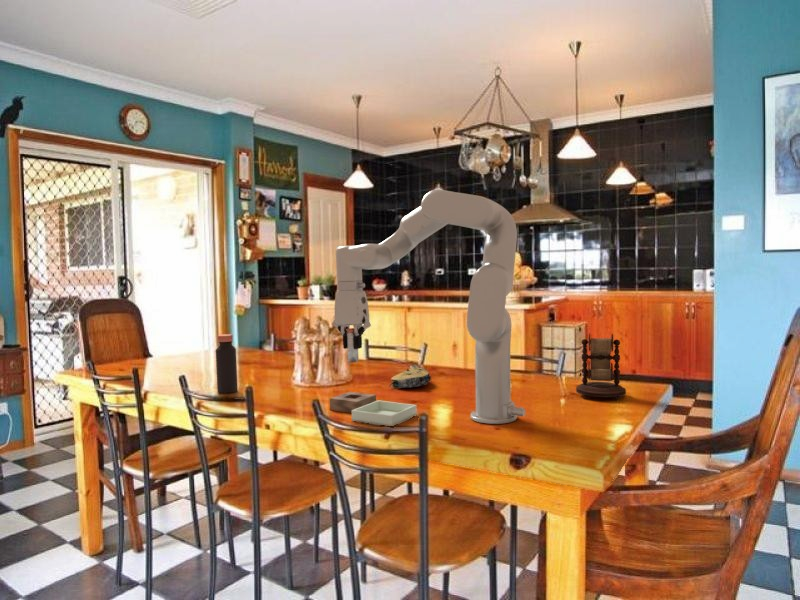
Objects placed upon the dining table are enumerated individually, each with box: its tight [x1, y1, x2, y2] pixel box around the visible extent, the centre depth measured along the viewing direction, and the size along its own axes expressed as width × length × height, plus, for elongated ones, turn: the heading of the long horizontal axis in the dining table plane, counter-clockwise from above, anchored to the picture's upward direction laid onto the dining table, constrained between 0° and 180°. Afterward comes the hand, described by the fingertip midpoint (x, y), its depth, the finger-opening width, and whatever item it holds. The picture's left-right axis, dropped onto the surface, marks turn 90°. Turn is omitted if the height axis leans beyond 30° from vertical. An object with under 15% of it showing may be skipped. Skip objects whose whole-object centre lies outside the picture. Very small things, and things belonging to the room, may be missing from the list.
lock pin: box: [346, 327, 359, 364], centre depth 171 cm, size 3×3×10 cm
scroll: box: [575, 332, 627, 402], centre depth 179 cm, size 15×15×20 cm
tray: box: [351, 399, 418, 427], centre depth 160 cm, size 13×13×3 cm
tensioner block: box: [329, 391, 377, 414], centre depth 172 cm, size 10×10×4 cm
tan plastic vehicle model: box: [387, 364, 432, 389], centre depth 208 cm, size 14×6×30 cm
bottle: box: [215, 333, 239, 394], centre depth 199 cm, size 7×7×20 cm
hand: (352, 347), depth 171 cm, fingers closed on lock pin, 3 cm apart
